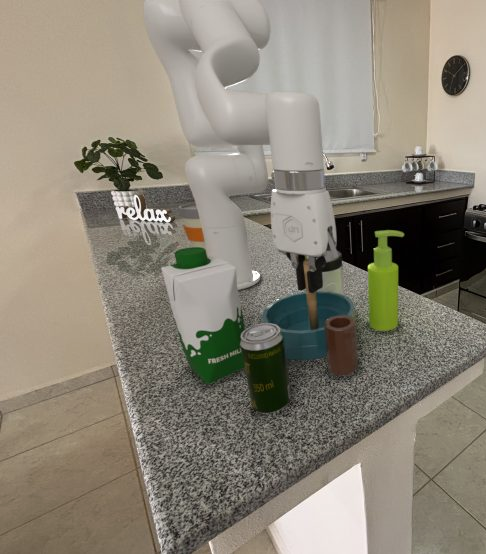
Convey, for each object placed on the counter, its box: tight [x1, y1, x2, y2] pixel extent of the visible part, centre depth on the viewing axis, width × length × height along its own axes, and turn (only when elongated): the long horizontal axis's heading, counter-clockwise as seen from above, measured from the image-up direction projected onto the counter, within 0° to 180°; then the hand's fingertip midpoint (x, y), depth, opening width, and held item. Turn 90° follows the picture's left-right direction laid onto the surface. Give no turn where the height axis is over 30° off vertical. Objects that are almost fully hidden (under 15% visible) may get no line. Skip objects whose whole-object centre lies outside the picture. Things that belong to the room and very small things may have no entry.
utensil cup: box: [324, 315, 358, 377], centre depth 57 cm, size 5×5×9 cm
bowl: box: [260, 291, 356, 361], centre depth 66 cm, size 17×17×6 cm
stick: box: [303, 259, 319, 330], centre depth 62 cm, size 2×2×15 cm
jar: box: [307, 250, 346, 296], centre depth 79 cm, size 9×8×12 cm
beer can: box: [240, 323, 292, 415], centre depth 49 cm, size 5×5×12 cm
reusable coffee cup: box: [178, 202, 208, 257], centre depth 111 cm, size 13×13×15 cm
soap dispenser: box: [367, 229, 405, 332], centre depth 68 cm, size 6×7×20 cm
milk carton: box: [160, 246, 246, 385], centre depth 54 cm, size 9×9×20 cm
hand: (310, 288), depth 61 cm, fingers closed on stick, 1 cm apart
